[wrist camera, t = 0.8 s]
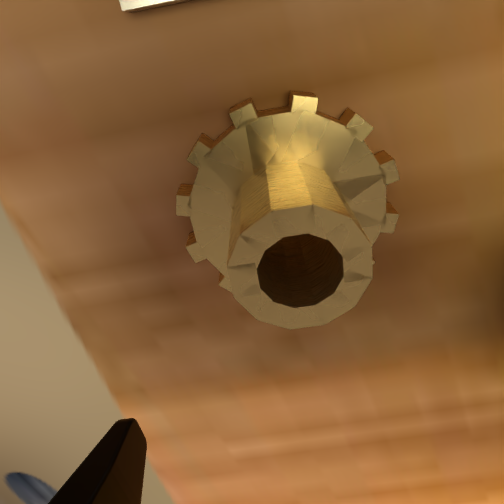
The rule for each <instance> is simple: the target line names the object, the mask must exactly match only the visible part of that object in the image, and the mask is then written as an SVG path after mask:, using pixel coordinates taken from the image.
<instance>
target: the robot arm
mask: <svg viewBox="0 0 504 504" xmlns="http://www.w3.org/2000/svg"><path fill="white" fill-rule="evenodd" d="M146 450H147V443H146V438H145V436H144V434H143V432H142V430H141V428H140V426H139V424H138V422H137V421H136V420H135V419H134V418H129V419H121V420H118V421H117V422H116V423H115V424H114V425H113V426H112V427H111V428H110V430H109V431H108V432H107V433H106V434H105V436H104V437H103V438H102V439H101V440H100V442H99V443H98V444H97V445H96V447H95V448H94V449H93V450H92V451H91V452H90V454H89V455H88V456H87V457H86V458H85V460H84V461H83V462H82V463H81V464H80V466H79V467H78V468H77V469H76V471H75V472H74V473H73V474H72V475H71V476H70V478H69V479H68V480H67V481H66V482H65V484H64V485H63V486H62V487H61V488H60V490H59V491H58V492H57V493H56V494H55V496H54V497H53V498H52V499H51V500H50V502H49V503H48V504H141V496H142V487H143V478H144V468H145V459H146Z"/></svg>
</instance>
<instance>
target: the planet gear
mask: <svg viewBox="0 0 504 504" xmlns="http://www.w3.org/2000/svg"><path fill="white" fill-rule="evenodd" d="M317 103H318V97H317V96H316V95H315V94H313V93H308V92H298V91H290V94H289V102H288V106H285V107H279V108H273V109H268V110H262V111H257V110H256V108H255V105H254V103H253V101H252V98H250V99H248V100H245V101H243V102H241V103H239V104H237V105H235V106H233V107H231V108H230V112H229V115H230V117H231V119H232V121H233V123H234V124H233V125H232V126H231V127H229V128H228V129H227V130H226V131H225V132H224V133H223V134H221V135H220V136H219V137H218V138H217V139H216V140H215V141H213V140H212V139H210V138H209V137H207V136H206V135H204V134H203V133H202V134H201V136H200V137H199V139H198V141H197V142H196V144H195V145H194V147H193V148H192V150H191V152H190V154H189V156H188V158H187V161H188V162H190V163H191V164H193V165H195V166H196V167H198V168H199V169H198V173H197V176H196V179H195V182H194V185H188V184H181V186H180V188H179V190H178V192H177V194H176V215H177V216H189V217H190V219H191V223H192V227H193V230H194V232H191V233H189V237H188V240H187V243H186V249H187V251H188V252H189V254H190V255H191V257H192V259H193V260H194V262H195V263H197V262H199V261H202V260H204V259H207V260H208V261H209V262H210V263H211V264H213V265H214V266H215V267H216V268H217V269H218V270H219V271H220V275H219V283H218V285H219V286H221V287H223V288H224V289H226V290H228V291H230V292H231V293H233V296H234V298H235V299H236V300H237V301H238V302H239V303H240V304H241V305H242V306H243V307H244V308H245V309H246V310H247V311H248V312H249V313H250V314H251V315H252V316H253V317H255V318H256V319H257V320H258V321H262V322H265V323H269V324H272V325H276V326H279V327H283V328H286V329H290V330H291V329H298V328H305V327H313V326H320V325H326V324H327V323H329V322H331V321H332V320H334V319H335V318H337V317H339V316H340V315H342V314H344V313H345V312H347V311H349V310H350V309H352V308H354V307H355V306H356V304H357V303H358V301H359V299H360V298H361V296H362V295H363V293H364V291H365V290H366V288H367V287H368V285H369V283H370V282H371V280H372V279H373V268H372V265H373V264H374V263H375V260H374V258H373V256H372V246H373V244H374V243H375V241H376V239H377V237H378V236H379V234H380V232H382V233H394V230H395V226H396V223H397V220H398V217H399V213H398V212H397V211H396V210H395V209H394V207H393V206H392V205H391V204H390V203H389V202H386V185H388V184H390V183H393V182H395V181H398V180H400V178H399V174H398V171H397V167H396V164H395V160H394V159H393V158H392V157H391V156H390V155H389V154H388V153H386V152H385V151H384V150H383V151H381V152H378V153H376V154H374V155H373V154H372V152H371V151H370V149H369V148H368V146H367V145H366V144H365V142H364V141H363V140H364V139H365V138H366V137H367V136H368V135H369V133H370V132H371V131H372V130H373V129H374V128H373V127H372V126H371V125H370V124H368V123H367V122H366V121H365V120H364V119H362V118H361V117H360V116H359V115H357V114H356V113H355V112H354V111H352V110H351V109H349V108H347V109H346V110H345V112H344V113H343V114H342V116H341V117H340V118H339V119H336V118H334V117H331V116H329V115H326V114H324V113H321V112H319V111H316V109H317Z"/></svg>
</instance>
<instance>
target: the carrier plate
mask: <svg viewBox="0 0 504 504" xmlns="http://www.w3.org/2000/svg"><path fill="white" fill-rule="evenodd" d="M119 1H120V5H121V8H122V11H125V12H136V11H141V10H146V9H151V8H156V7H161V6H165V5H170V4H175V3H180V2H185V1H190V0H119Z"/></svg>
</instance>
